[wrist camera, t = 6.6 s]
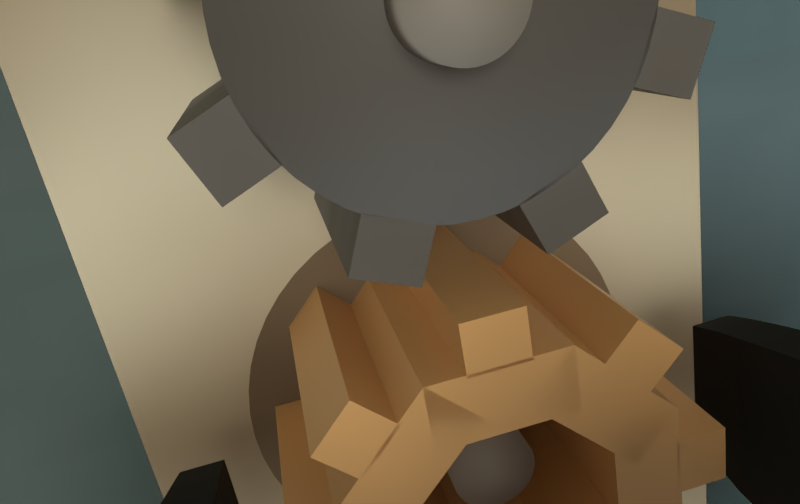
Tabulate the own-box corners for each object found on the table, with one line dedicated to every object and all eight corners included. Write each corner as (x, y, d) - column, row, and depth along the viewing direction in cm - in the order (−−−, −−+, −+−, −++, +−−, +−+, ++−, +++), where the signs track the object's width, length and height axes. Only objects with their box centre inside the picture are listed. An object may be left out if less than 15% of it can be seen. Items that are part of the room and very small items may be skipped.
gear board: (685, 664, 17) (905, 982, 11) (295, 807, 16) (327, 1254, 10) (647, -287, 10) (1174, -693, 4) (-69, -191, 9) (-673, -613, 3)
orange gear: (654, 321, 12) (804, 428, 9) (475, 558, 13) (553, 733, 10) (402, 154, 10) (478, 213, 7) (210, 447, 11) (196, 621, 8)
